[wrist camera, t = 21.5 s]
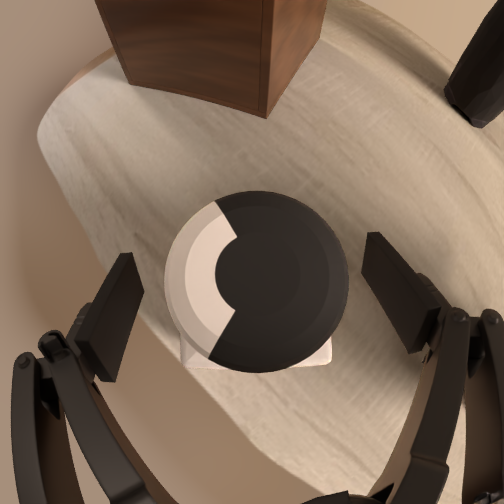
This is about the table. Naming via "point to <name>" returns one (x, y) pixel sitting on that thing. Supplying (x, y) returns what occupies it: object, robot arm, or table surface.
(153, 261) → the table surface
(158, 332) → the table surface
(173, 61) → the chest
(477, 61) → the portable speaker
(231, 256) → the medicine bottle
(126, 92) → the table surface
